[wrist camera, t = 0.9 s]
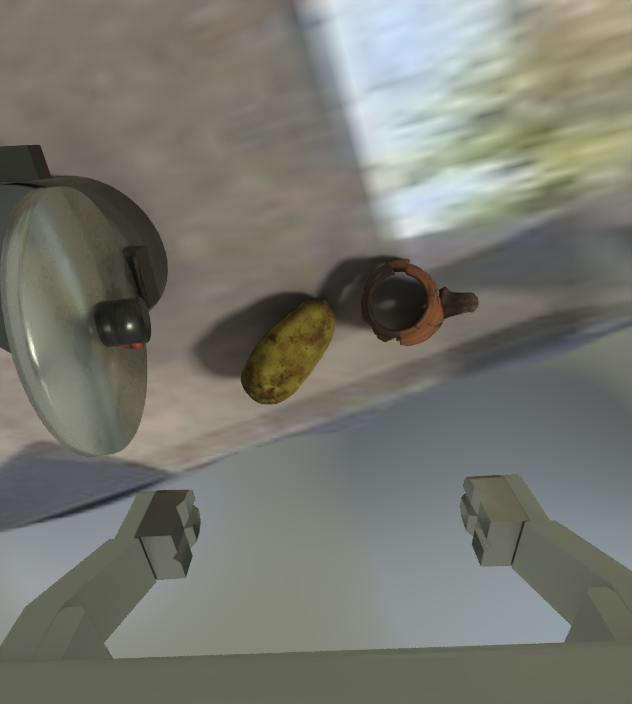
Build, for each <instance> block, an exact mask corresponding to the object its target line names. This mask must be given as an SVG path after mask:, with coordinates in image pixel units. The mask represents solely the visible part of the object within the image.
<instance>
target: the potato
mask: <svg viewBox="0 0 632 704" xmlns="http://www.w3.org/2000/svg"><path fill="white" fill-rule="evenodd" d="M334 325H335V315H334V311H333V309H332V306H330V304H329V303H328V302H327V301H326V300H325V299H323V298H314V299H308V300H306V301H304V302H302V303H301V304H300V305H299V306H297V308H296V309H294V310H293V311H292V312H291V313H290V314H289V315H286V316H284V317H283V318H282V319H281V320H280V321H279V322H278V323H277V325H276V326H275V327H273V328H272V329H271V330H270V331H269V332H268V333H267V334H266V336H265V337H264V338H263V339H262V340H261V341H260V342H259V343H258V344H257V346H256V347H255V349H254V350H253V352H252V354H251V356H250V358H249V359H248V361H247V363H246V365H245V367H244V369H243V371H242V374H241V382H242V386H243V388H244V390H245V391H246V393H247V394H248V395H249V396H250V397H251V398H252V399H253V400H254V401H256V402H258V403H261V404H277V403H279V402H282V401H283V400H285V399H287V398H289V397H290V396H291V395H292V394H294V393H295V392H296V390H297V389H298V388H299V387H300V386H301V384H302V383H303V382H304V381H305V380H306V378H307V377H308V376H309V375H310V373H311V372H312V370H313V369H314V367H315V366H316V365H317V363H318V362H319V360H320V359H321V358H322V356H323V354H324V352H325V351H326V349H327V347H328V345H329V343H330V341H331V339H332V336H333V331H334Z"/></svg>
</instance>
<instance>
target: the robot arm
mask: <svg viewBox="0 0 632 704" xmlns="http://www.w3.org/2000/svg"><path fill="white" fill-rule="evenodd" d="M463 487H464V490H465V492H466V493H465V494H464V495H463V496H462V497H461V503H460V508H461V517H462V520H463V523H464V526H465V529H466V531H467V532H469V533H470V534H471V535H472V536H473V540H472V546H473V549H474V551H475V554H476V556H477V558H478V561H479V563H480V566H512V569H514V570H515V571H516V572H517V573H518V574H519V575H520V576H521V577H522V578H523V579H524V580H525V581H526V582H527V583H528V584H529V585H530V586H531V587H532V588H533V589H534V590H535V591H536V592H537V593H538V594H539V595H540V596H541V597H543V598H544V600H546V601H547V602H548V603H549V604H550V605H551V606H552V607H553V608H554V609H555V610H556V611H557V612H558V613H559V614H560V615H561V616H562V617H563V618H564V619H565V620H566V621H567V622H568V623H569V624H571V628H570V630H569V633H568V635H567V637H566V640H565V642H564V643H544V644H543V643H542V644H516V645H515V644H514V645H513V644H512V645H484V646H457V647H428V648H399V649H373V650H371V649H370V650H342V651H315V652H288V653H263V654H262V653H260V654H232V655H203V656H175V657H149V658H148V657H147V658H118V659H113V657H112V656H111V654H110V652H109V651H108V649H107V647H106V646H105V644H104V642H105V641H106V640H107V639H108V638H109V636H110V635H111V634H112V633H113V632H114V631H115V629H116V628H117V627H118V626H119V625H120V624H121V622H122V621H123V620H124V619H125V618H126V617H127V615H128V614H129V613H130V612H131V611H132V610H133V608H134V607H135V606H136V605H137V604H138V603H139V602H140V600H141V599H142V598H143V597H144V596H145V595H146V593H147V592H148V591H149V590H150V589H151V588H152V586H153V585H154V584H155V583H156V580H164V579H178V578H186V576H187V573H188V569H189V566H190V563H191V560H192V556H193V555H192V552H191V549H190V548H191V547H192V546H193V545H194V544H195V543H196V542H197V539H198V535H199V532H200V523H201V522H200V513H199V509H198V508H197V507H195V506H194V505H193V504H194V501H195V496H194V493H193V490H158V491H141V492H140V493H139V494H138V495H137V496H136V498H135V500H134V502H133V504H132V506H131V508H130V510H129V511H128V514H127V515H126V518H125V519H124V521H123V523H122V525H121V527H120V529H119V531H118V533H117V535H116V537H115V538H114V539H109V540H108V541H107V542H105V543H104V544H103V545H102V546H100V547H99V548H98V549H96V550H95V551H94V552H93V553H92V554H90V555H89V556H88V557H87V558H85V559H84V560H83V561H82V562H80V563H79V564H78V565H77V566H75V567H74V568H73V569H72V570H71V571H69V572H68V573H67V574H66V575H64V576H63V577H62V578H60V579H59V580H58V581H57V582H56V583H54V584H53V585H52V586H51V587H49V588H48V589H47V590H46V591H44V592H43V593H42V594H41V595H39V596H38V597H37V598H36V599H34V600H33V601H32V602H31V603H29V604H28V605H27V606H26V607H25V608H24V610H23V611H22V613H21V615H20V616H19V617H18V619H17V621H16V622H15V624H14V625H13V627H12V628H11V630H10V631H9V633H8V635H7V636H6V638H5V640H4V641H3V643H2V644H1V646H0V704H632V571H631V570H629V569H628V568H626V567H625V566H623V565H622V564H620V563H619V562H617V561H616V560H614V559H613V558H611V557H610V556H608V555H607V554H605V553H604V552H602V551H601V550H599V549H598V548H596V547H595V546H593V545H592V544H590V543H589V542H587V541H586V540H584V539H583V538H581V537H580V536H578V535H576V534H575V533H573V532H572V531H570V530H569V529H567V528H566V527H565V526H563V525H562V524H560V523H558V522H557V521H550V520H549V518H548V517H547V515H546V513H545V512H544V510H543V509H542V507H541V506H540V504H539V503H538V501H537V500H536V498H535V497H534V495H533V494H532V492H531V490H530V489H529V488H528V486H527V484H526V483H525V481H524V480H523V478H522V477H521V476H520V475H518V474H516V475H515V474H514V475H492V476H475V477H466V478H465V480H464V484H463Z"/></svg>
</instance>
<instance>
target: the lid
mask: <svg viewBox="0 0 632 704" xmlns="http://www.w3.org/2000/svg"><path fill="white" fill-rule="evenodd" d="M0 288H1V302H2V311H3V317H4V323H5V330H6V334H7V338H8V342H9V346H10V350H11V354H12V358H13V361H14V364H15V367H16V370H17V373H18V376H19V378H20V381H21V383H22V385H23V388H24V390H25V392H26V394H27V397H28V399H29V401H30V403H31V404H32V406H33V408H34V410H35V411H36V413H37V415H38V417H39V418H40V420H41V421H42V422H43V424H44V425H45V427H46V428H47V429H48V431H49V432H50V433H51V434H52V435H53V436H54V437H55V438H56V439H57V440H58V442H59V443H61V444H62V445H63V446H65V447H66V448H67V449H69V450H70V451H72V452H74V453H76V454H78V455H81V456H86V457H96V456H103V455H109V454H115V453H117V452H120V451H121V450H123V449H124V448H125V447H127V445H128V444H129V443H130V442H131V441H132V439H133V437H134V436H135V434H136V432H137V429H138V427H139V424H140V421H141V418H142V414H143V410H144V405H145V398H146V389H147V349H146V343H148V342H149V340H150V337H151V323H150V317H149V312H148V309H147V306H146V304H145V302H144V300H143V299H142V298H140V297H139V296H138V293H137V289H136V286H135V282H134V279H133V275H132V272H131V268H130V265H129V261H128V260H127V259H126V257H125V254H124V252H123V250H122V247H121V245H120V243H119V241H118V239H117V237H116V235H115V233H114V231H113V229H112V228H111V226H110V224H109V223H108V221H107V219H106V218H105V216H104V215H103V214H102V212H101V211H100V210H99V208H98V207H97V206H96V205H95V204H94V203H93V202H92V201H91V200H90V199H89V198H88V197H87V196H86V195H84V194H83V193H82V192H80V191H78V190H76V189H75V188H71V187H67V186H62V187H45V188H37V189H35V190H32V191H30V192H28V193H27V194H26V195H25V196H23V197H22V198H21V199H20V201H19V202H18V204H17V205H16V206H15V208H14V210H13V212H12V214H11V216H10V219H9V221H8V224H7V227H6V231H5V235H4V239H3V245H2V253H1V265H0Z"/></svg>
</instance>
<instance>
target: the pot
mask: <svg viewBox="0 0 632 704" xmlns="http://www.w3.org/2000/svg"><path fill="white" fill-rule="evenodd" d="M30 180H33V181H30ZM11 181H26V182H19V183H11V184H4V185H0V265H1V253H2V245H3V239H4V235H5V231H6V227H7V224H8V221H9V219H10V216H11V214H12V212H13V210H14V208H15V206H16V205H17V204H18V202H19V201H20V199H21V198H22V197H23V196H25V195H26V194H27V193H28V192H30V191H32V190H35V189H37V188H45V187H62V186H67V187H71V188H75V189H76V190H78V191H80V192H82V193H83V194H84V195H86V196H87V197H88V198H89V199H90V200H91V201H92V202H93V203H94V204H95V205H96V206H97V207H98V208H99V210H100V211H101V212H102V214H103V215H104V216H105V218H106V219H107V221H108V223H109V224H110V226H111V228H112V229H113V231H114V233H115V235H116V237H117V239H118V241H119V243H120V245H121V247H122V250H123V252H124V254H125V257H126V259H127V260H128V261H129V265H130V268H131V272H132V275H133V279H134V282H135V286H136V289H137V293H138V296H139V297H140V298H142V299H143V300H144V302H145V304H146V306H147V309H148V312H149V311H150V310H151V309H152V308H153V307H154V306H155V305H156V304H157V303H158V301H159V299H160V298H161V296H162V294H163V292H164V289H165V286H166V282H167V274H168V267H167V258H166V252H165V249H164V246H163V243H162V240H161V238H160V236H159V234H158V232H157V230H156V228H155V227H154V225H153V223H152V222H151V221H150V219H149V218H148V217H147V215H146V214H145V213H144V212H143V211H142V210H141V209H140V207H139V206H138V205H136V204H135V203H134V202H133V201H132V200H131V199H130V198H128V197H127V196H126V195H124V194H123V193H121V192H120V191H118V190H116V189H115V188H113V187H111V186H109V185H107V184H104V183H102V182H100V181H97V180H93V179H90V178H85V177H78V176H63V177H55V178H51V175H50V172H49V169H48V166H47V163H46V161H45V158H44V155H43V152H42V149H41V146H40V145H21V146H3V147H0V182H11ZM0 347H1V348H3V349H5V350H6V351H8V352H10V353H11V350H10V346H9V342H8V338H7V334H6V330H5V323H4V317H3V311H2V302H1V288H0Z"/></svg>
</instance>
